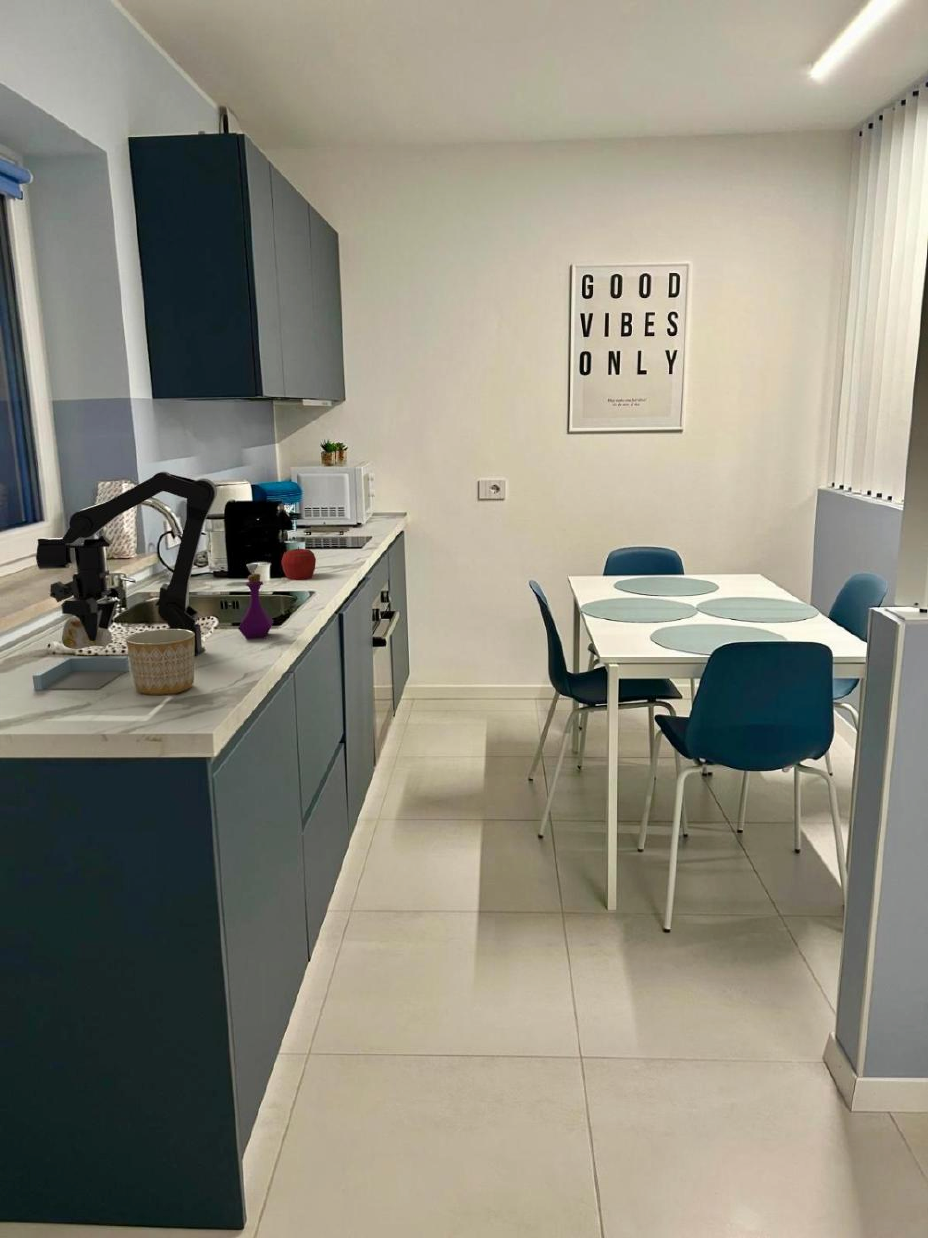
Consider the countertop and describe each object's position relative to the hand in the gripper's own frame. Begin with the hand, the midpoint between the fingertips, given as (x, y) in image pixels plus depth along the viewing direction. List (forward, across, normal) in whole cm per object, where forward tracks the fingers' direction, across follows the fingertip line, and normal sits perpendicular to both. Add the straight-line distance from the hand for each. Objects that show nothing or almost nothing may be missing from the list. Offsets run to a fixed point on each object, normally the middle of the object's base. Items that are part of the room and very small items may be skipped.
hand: (98, 637), depth 205 cm
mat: (+5, +18, +5) cm, 19 cm away
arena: (+5, +11, -2) cm, 12 cm away
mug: (+4, -1, 0) cm, 4 cm away
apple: (+5, -93, +24) cm, 96 cm away
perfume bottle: (+5, -19, +30) cm, 36 cm away
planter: (+5, +23, +23) cm, 33 cm away
